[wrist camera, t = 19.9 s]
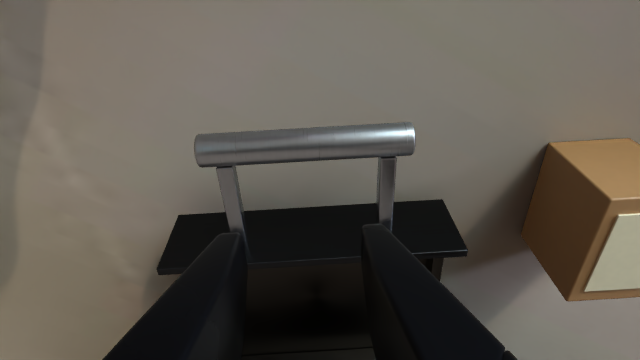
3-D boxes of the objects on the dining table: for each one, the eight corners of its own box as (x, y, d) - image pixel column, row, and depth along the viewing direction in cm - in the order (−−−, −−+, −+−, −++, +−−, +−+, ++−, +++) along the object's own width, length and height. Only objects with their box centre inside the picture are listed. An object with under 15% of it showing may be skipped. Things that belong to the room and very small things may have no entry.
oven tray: (457, 98, 19) (492, 138, 15) (421, 343, 29) (436, 399, 25) (149, 116, 19) (115, 160, 15) (220, 355, 29) (209, 414, 25)
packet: (629, 137, 22) (714, 194, 17) (590, 230, 25) (652, 298, 21) (547, 142, 22) (612, 200, 17) (519, 235, 25) (567, 303, 21)
